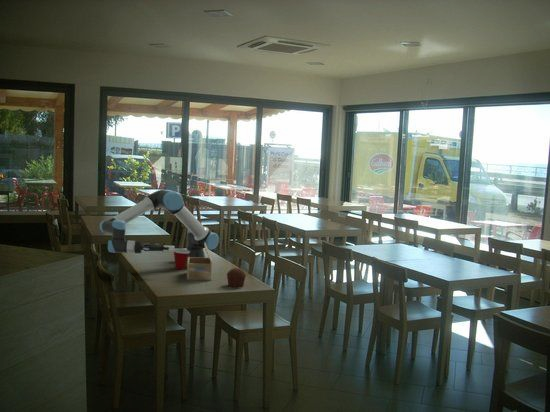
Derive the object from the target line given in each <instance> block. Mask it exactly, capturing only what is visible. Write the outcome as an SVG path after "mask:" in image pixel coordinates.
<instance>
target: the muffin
mask: <svg viewBox="0 0 550 412" xmlns="http://www.w3.org/2000/svg"><path fill="white" fill-rule="evenodd" d="M226 276H227V277H226V278H227V286H228V287H231V288H234V287H236V288H237V287H240V288H243V287H244V284H245V280H246V276H247V274H246V273H245V272H244V270H243V269H241V268H237V267H233V268H232V269H230V270H228V272H227V273H226Z"/></svg>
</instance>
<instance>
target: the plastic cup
mask: <svg viewBox="0 0 550 412" xmlns="http://www.w3.org/2000/svg"><path fill="white" fill-rule="evenodd" d="M189 253H190V251H188V250H187V249H182V248H174V251H173V256H174V264H175V269H177V270H184V269H185V268H186V265H187V258H188V254H189Z"/></svg>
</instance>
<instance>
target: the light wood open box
mask: <svg viewBox="0 0 550 412" xmlns="http://www.w3.org/2000/svg"><path fill="white" fill-rule="evenodd" d="M186 265H187V268H186V280H188V281H212V271H213V270H212V268H213V262H212V263H211V261H210V259H209V257H205V258H201V257H188V262H186Z"/></svg>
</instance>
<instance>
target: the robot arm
mask: <svg viewBox="0 0 550 412" xmlns="http://www.w3.org/2000/svg"><path fill="white" fill-rule="evenodd" d="M159 208H160V209H164V210H165V211H167V213H169V214H170V215H174V216H175V217H176V218H177V219H178V220H179V221H180V223H181V224H183V225H184V227H186V229H187V231H186V232H187V233H186V250H188V251H190V253H189V254H188V257H201V258H206V256H205V251H204V249H205V244H204V242H205V243H206V246H207V248H208V250H215V249H216V248H217V247H218V245H219V243H220V237H219V235H218V234H217V233H216V232H212V230H210V229H209V227H208V226H204V225H203V224H202V223H201V222H200V221H199V219H197V218H196V217H195V215H193V213H192V212H191V211H190V210H189V209H188V208H187V207H186V206H185V202H184V198H183V196H182V195H181V193H179V192H177V191H174V190H166V189H158V190H156V191H154V192H152V193H150V194H148V195H147V196H144V198H143V200H141V201H139V202H137V203H135V204H133V206H131V207H129V208H127V209H126V210H124V211H122V212H120V213H118V214H116V215H115V216H112V218H110V219H108V220H107V219H105V220H102V221H100V223H99V230H100V231H101V232H102V233H105V234H107V235H108V234H109V235H111V239H109V240H108V241H107V250H108V252H109V253H115V254H129V255H131V254H141V253H142V251H144V252H162V253H163V252H165V251H167V252H169V251H170V252H174V249H175V247H176V246H175V245H164V244H151V243H144V244H143V241H142V240H130V239H129V240H126V228H127V227H126V224H129V223H131V222H132V221H133V220H135V219H137V218H138V217H140V216H143V215H144V214H145V213H148V212H149V211H154V210H155V209H159ZM187 262H188V258H187ZM187 262H186V263H187Z"/></svg>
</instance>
